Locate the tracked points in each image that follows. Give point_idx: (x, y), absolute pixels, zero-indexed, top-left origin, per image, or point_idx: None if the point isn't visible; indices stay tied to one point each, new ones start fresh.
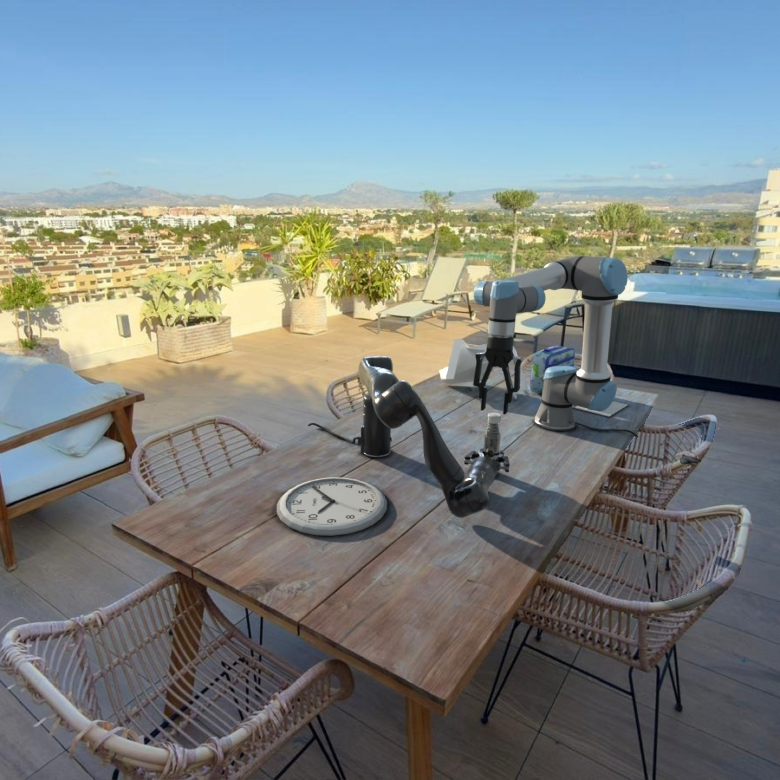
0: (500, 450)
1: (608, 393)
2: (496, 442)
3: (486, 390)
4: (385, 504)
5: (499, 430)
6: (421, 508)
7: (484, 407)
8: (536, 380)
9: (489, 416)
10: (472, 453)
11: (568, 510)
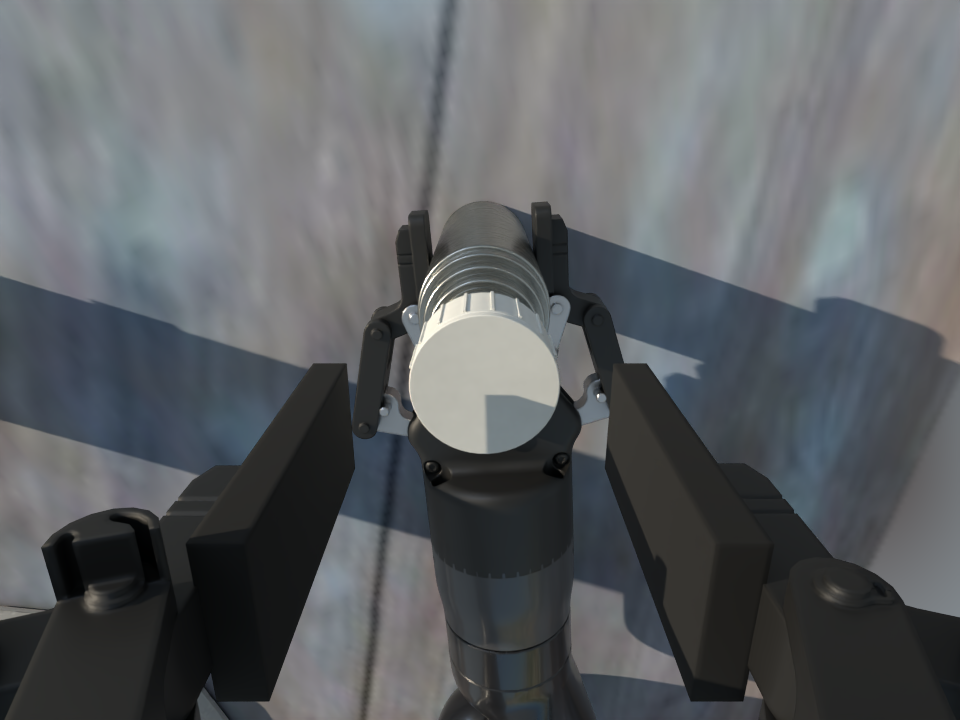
0: (538, 223)
1: None
2: None
3: (266, 551)
4: (209, 716)
5: (541, 310)
6: (331, 662)
7: (345, 430)
8: None
9: (444, 439)
10: (379, 368)
11: (896, 448)
